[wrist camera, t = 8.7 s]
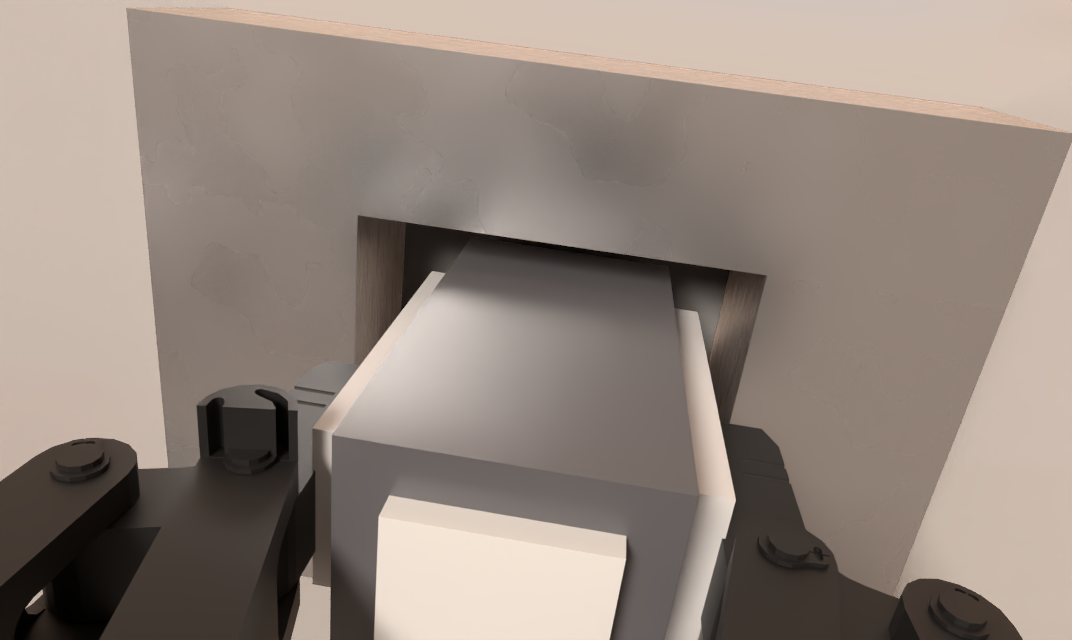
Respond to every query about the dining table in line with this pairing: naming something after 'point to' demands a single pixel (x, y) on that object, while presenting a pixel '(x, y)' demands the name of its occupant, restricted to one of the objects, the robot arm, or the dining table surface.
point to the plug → (518, 459)
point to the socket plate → (591, 227)
